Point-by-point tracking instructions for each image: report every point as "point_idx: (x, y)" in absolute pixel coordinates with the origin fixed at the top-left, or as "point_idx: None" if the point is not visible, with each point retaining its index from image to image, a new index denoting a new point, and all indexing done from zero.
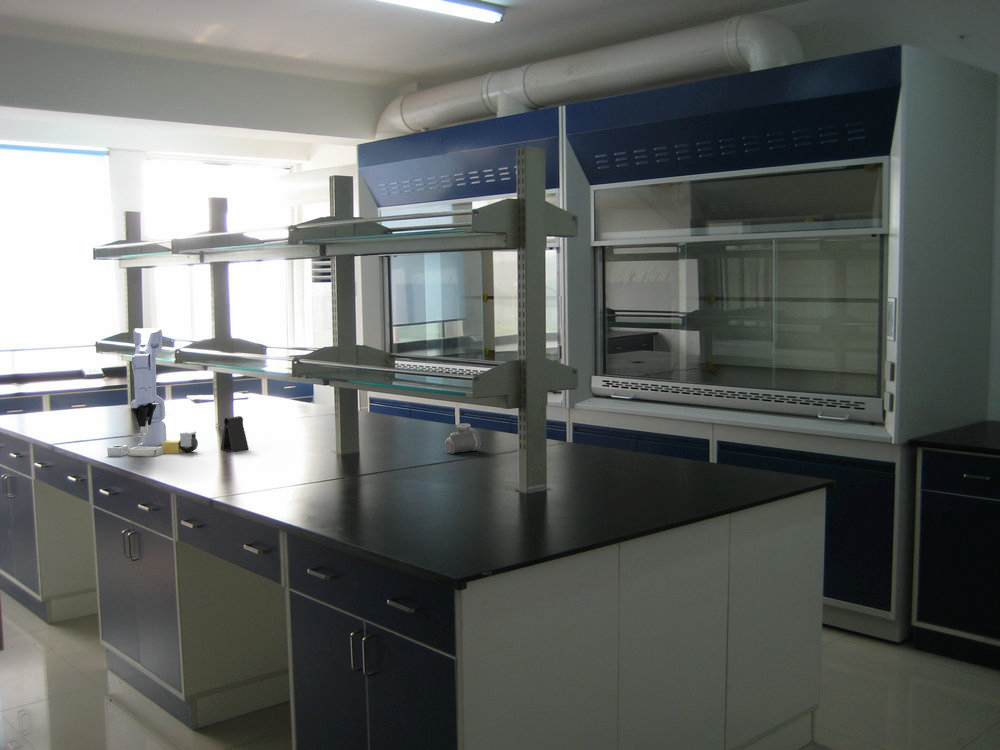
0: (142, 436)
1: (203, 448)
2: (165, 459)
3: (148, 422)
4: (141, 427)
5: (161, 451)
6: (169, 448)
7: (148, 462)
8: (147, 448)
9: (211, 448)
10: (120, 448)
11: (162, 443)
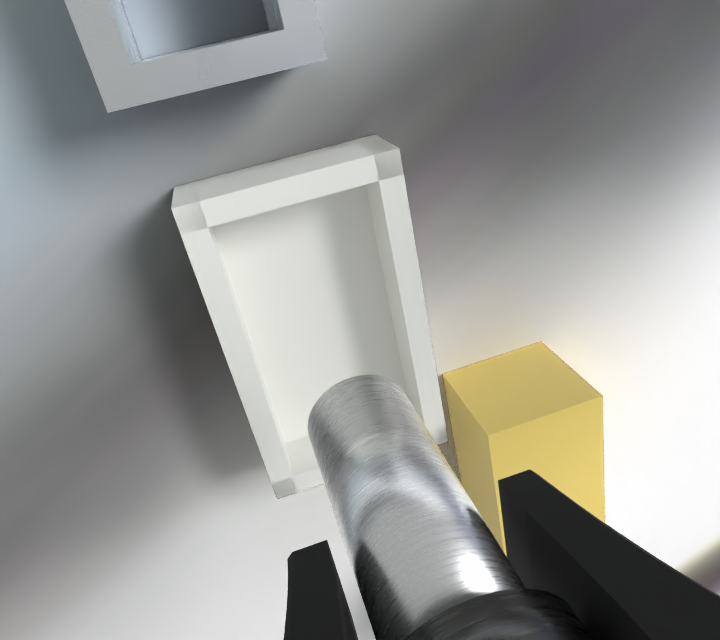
0: (309, 434)
1: (666, 499)
2: (187, 612)
3: (530, 584)
4: (345, 525)
5: None
6: (470, 457)
7: (4, 611)
8: (394, 293)
9: (667, 541)
10: (107, 105)
11: (483, 432)
